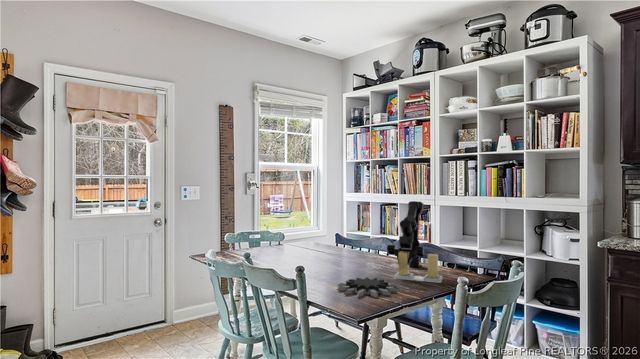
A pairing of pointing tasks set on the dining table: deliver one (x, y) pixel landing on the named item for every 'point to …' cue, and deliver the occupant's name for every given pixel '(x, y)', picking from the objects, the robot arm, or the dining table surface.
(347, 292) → the decorative piece
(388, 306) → the dining table surface
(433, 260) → the seated billet
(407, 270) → the billet
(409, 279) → the white shallow tray
